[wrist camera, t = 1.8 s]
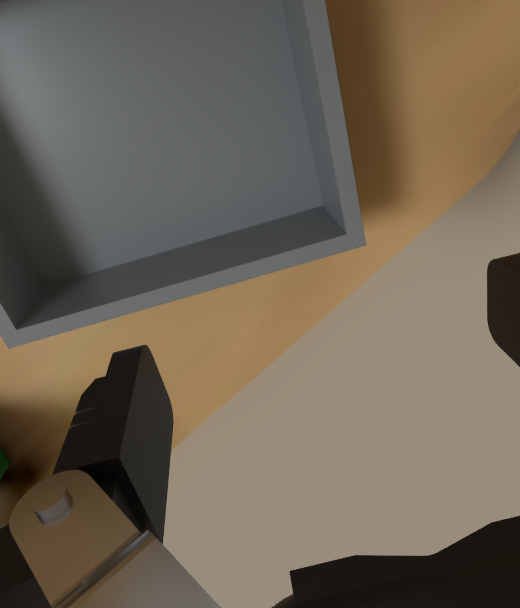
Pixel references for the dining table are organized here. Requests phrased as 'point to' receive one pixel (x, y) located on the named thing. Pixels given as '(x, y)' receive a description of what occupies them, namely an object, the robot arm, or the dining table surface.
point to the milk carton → (3, 463)
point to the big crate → (163, 153)
